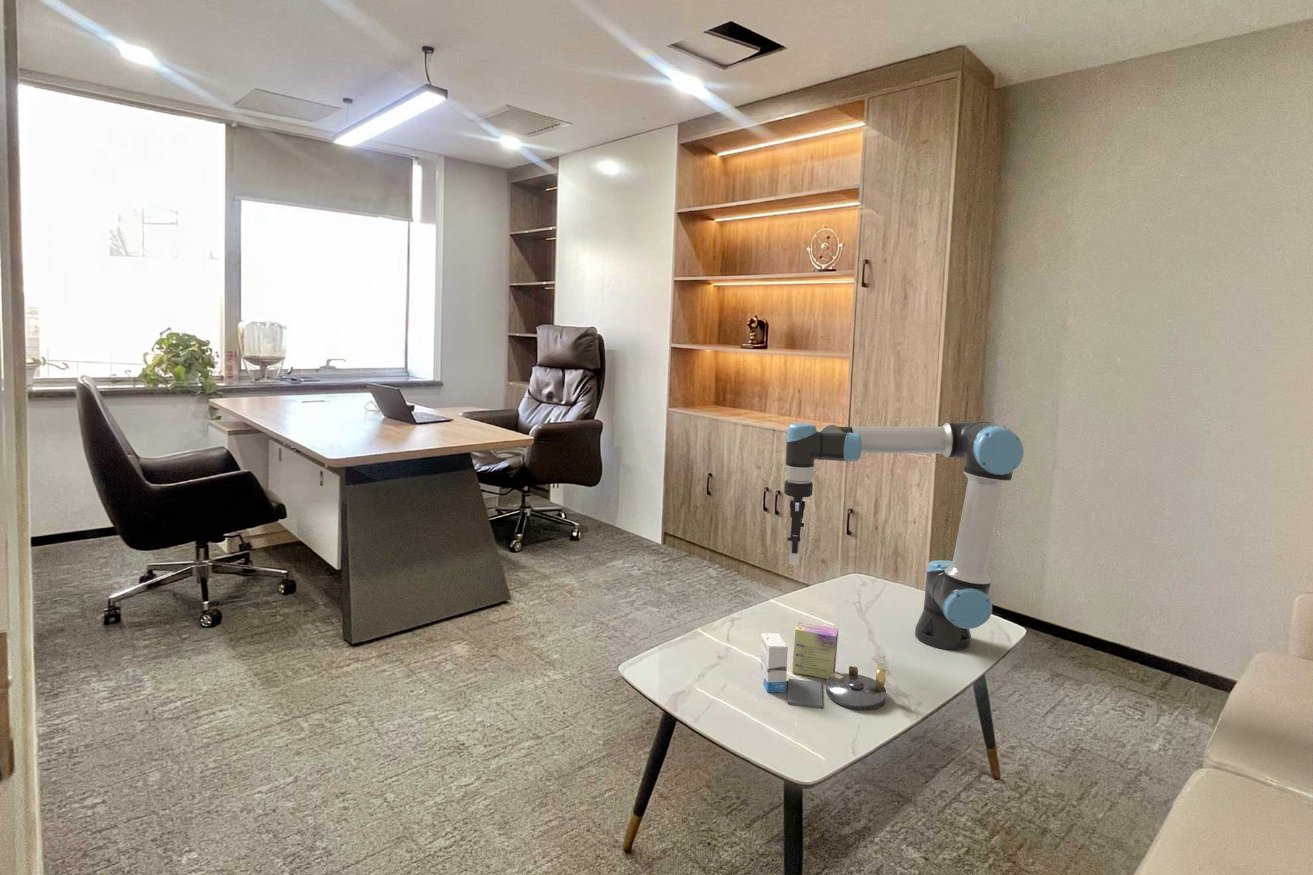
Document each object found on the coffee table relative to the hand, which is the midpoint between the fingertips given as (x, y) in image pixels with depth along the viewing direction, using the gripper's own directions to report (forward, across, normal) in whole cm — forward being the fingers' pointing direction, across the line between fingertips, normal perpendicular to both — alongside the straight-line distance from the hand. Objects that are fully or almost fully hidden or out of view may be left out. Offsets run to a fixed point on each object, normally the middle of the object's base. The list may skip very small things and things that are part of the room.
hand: (794, 556), depth 201 cm
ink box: (+26, +24, -4) cm, 35 cm away
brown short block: (+26, +15, +16) cm, 34 cm away
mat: (+26, +26, +5) cm, 37 cm away
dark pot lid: (+26, +24, +16) cm, 39 cm away
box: (+26, +14, +7) cm, 30 cm away
